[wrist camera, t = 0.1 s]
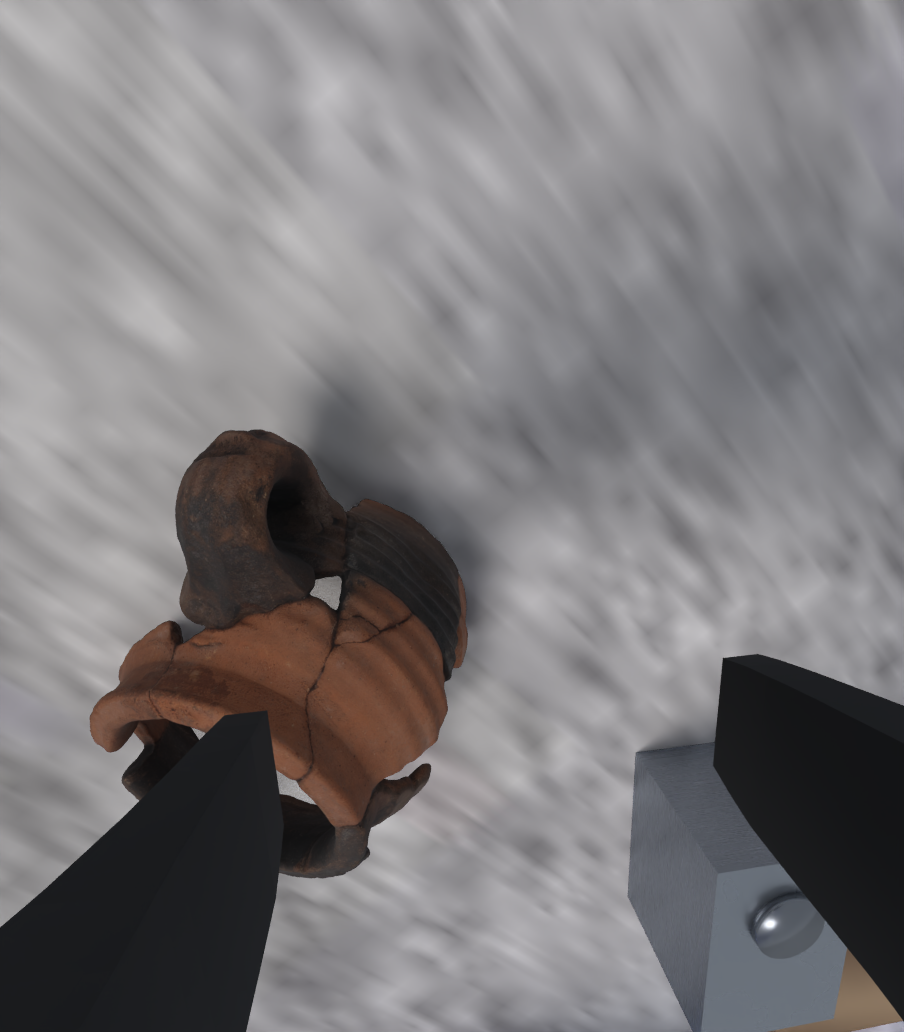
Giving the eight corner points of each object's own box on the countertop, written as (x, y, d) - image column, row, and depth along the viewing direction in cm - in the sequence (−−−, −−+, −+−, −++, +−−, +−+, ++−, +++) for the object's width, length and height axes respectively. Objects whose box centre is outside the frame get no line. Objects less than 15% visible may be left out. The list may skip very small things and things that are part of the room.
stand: (903, 980, 27) (933, 1014, 26) (751, 1010, 26) (773, 1047, 25) (939, 828, 25) (973, 856, 24) (772, 855, 24) (798, 886, 23)
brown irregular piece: (506, 677, 21) (442, 932, 14) (286, 658, 24) (151, 861, 17) (440, 354, 14) (274, 546, 8) (154, 385, 18) (-134, 542, 11)
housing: (733, 876, 24) (840, 1028, 19) (626, 893, 24) (704, 1055, 18) (749, 735, 22) (874, 858, 17) (634, 750, 22) (724, 882, 16)
